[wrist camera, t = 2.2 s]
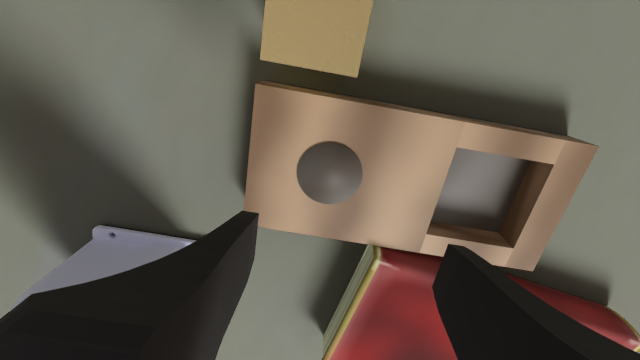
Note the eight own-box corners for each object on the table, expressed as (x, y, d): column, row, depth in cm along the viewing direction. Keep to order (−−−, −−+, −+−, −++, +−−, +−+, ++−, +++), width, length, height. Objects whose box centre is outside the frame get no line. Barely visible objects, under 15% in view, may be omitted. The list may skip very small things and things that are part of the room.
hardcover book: (370, 223, 24) (378, 256, 20) (603, 300, 26) (653, 344, 22) (317, 333, 28) (316, 378, 24) (522, 391, 30) (551, 441, 26)
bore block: (251, 206, 23) (242, 224, 20) (264, 80, 19) (254, 83, 17) (512, 250, 24) (533, 272, 21) (567, 135, 20) (600, 146, 18)
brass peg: (282, 57, 19) (259, 59, 13) (292, -18, 18) (270, -60, 11) (347, 69, 19) (357, 77, 13) (361, -4, 18) (381, -38, 11)
